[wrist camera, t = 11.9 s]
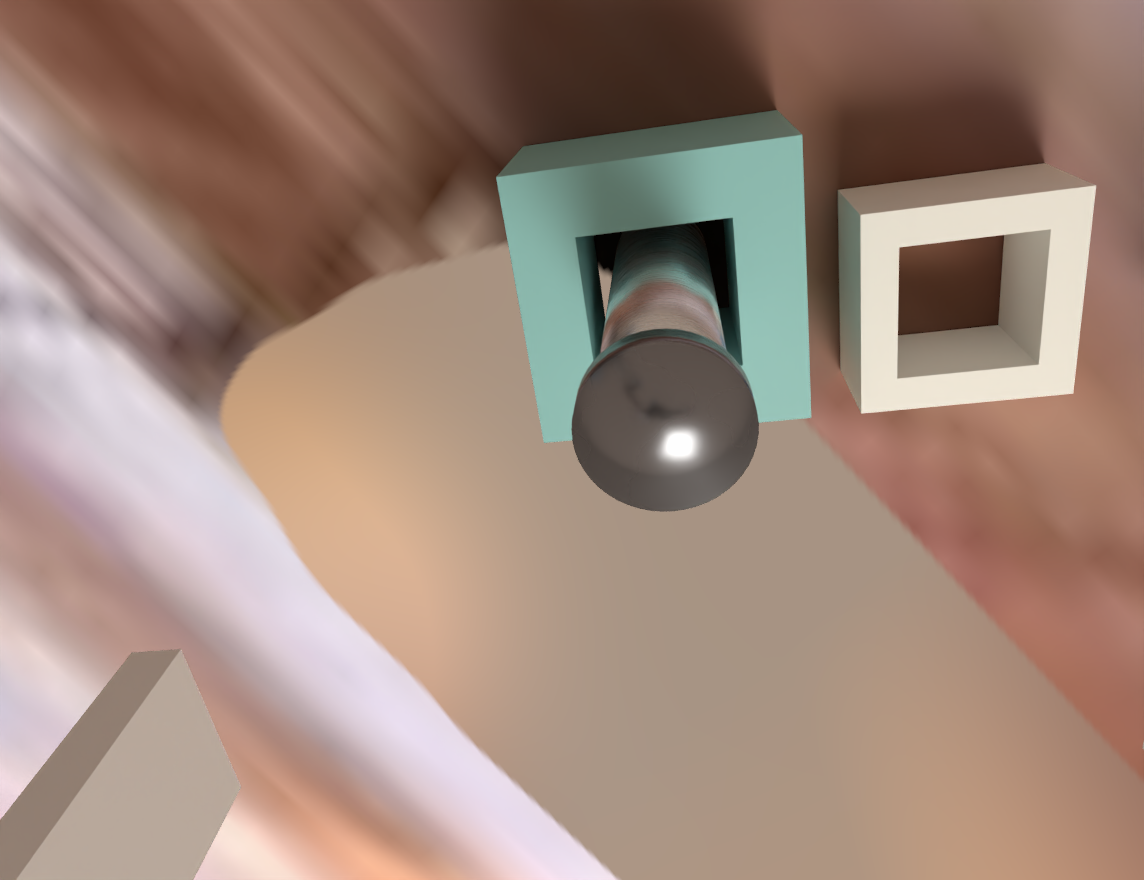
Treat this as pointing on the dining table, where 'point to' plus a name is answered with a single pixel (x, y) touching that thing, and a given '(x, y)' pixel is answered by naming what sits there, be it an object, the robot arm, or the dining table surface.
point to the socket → (654, 199)
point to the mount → (1027, 297)
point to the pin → (664, 381)
